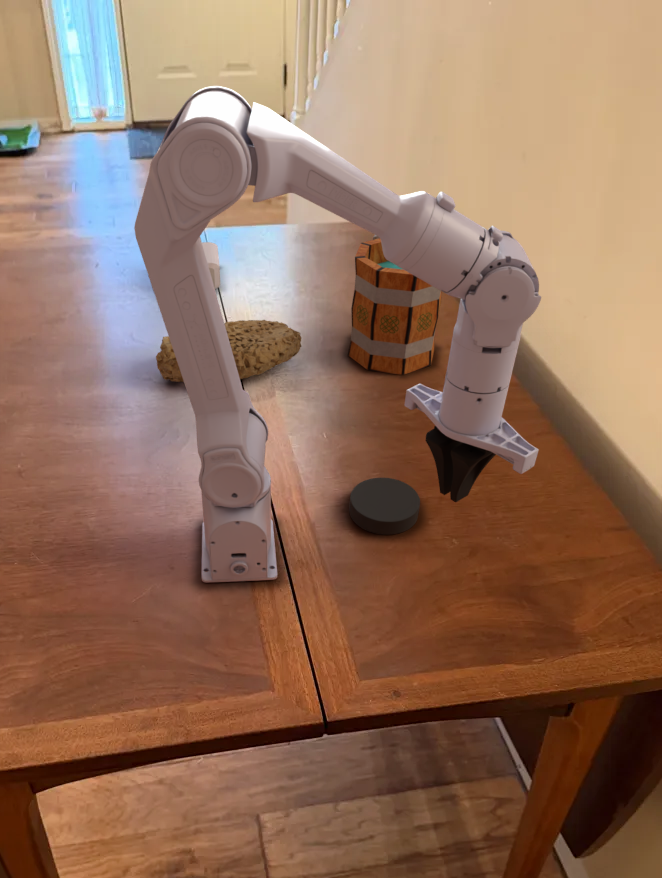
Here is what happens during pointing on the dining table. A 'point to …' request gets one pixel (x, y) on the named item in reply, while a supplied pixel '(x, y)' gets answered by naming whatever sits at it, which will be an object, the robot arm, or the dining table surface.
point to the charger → (212, 262)
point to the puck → (384, 506)
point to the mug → (391, 314)
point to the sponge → (243, 348)
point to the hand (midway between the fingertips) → (453, 493)
